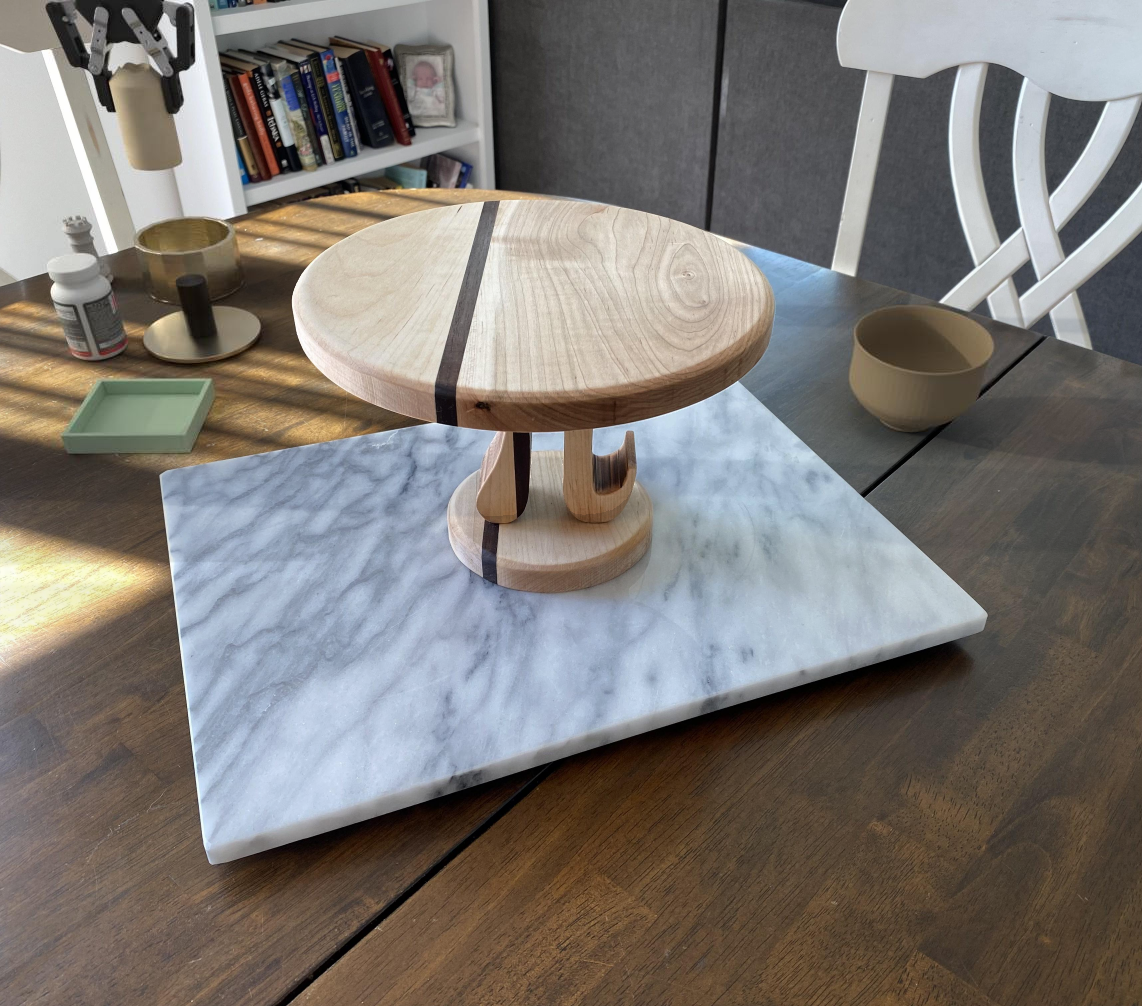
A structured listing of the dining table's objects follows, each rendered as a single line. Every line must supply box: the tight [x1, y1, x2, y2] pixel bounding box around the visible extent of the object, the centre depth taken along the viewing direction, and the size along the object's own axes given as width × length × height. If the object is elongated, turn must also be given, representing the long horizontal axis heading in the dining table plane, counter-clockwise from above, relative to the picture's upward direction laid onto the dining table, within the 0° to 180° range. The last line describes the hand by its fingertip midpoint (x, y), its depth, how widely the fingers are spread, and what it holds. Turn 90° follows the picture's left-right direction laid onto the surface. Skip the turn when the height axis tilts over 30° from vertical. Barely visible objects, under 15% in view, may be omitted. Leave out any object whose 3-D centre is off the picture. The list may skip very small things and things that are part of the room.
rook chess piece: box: [61, 214, 114, 285], centre depth 110 cm, size 4×4×8 cm
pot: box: [132, 215, 245, 306], centre depth 111 cm, size 11×11×6 cm
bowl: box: [848, 304, 996, 433], centre depth 91 cm, size 13×13×10 cm
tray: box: [60, 378, 217, 455], centre depth 89 cm, size 11×10×2 cm
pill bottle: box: [46, 252, 129, 361], centre depth 97 cm, size 6×6×10 cm
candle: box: [109, 61, 183, 172], centre depth 99 cm, size 6×6×10 cm
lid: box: [142, 274, 262, 364], centre depth 100 cm, size 12×12×7 cm
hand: (144, 110), depth 99 cm, fingers closed on candle, 5 cm apart
